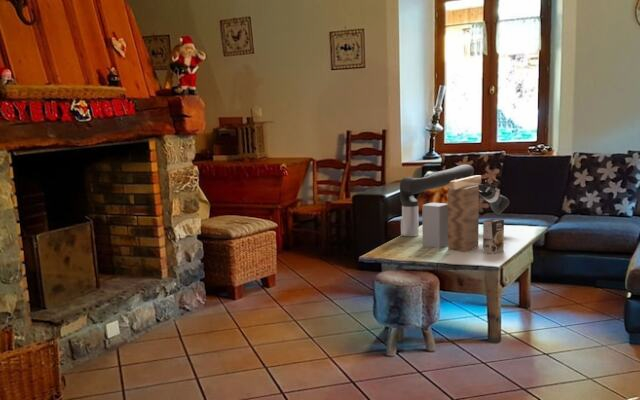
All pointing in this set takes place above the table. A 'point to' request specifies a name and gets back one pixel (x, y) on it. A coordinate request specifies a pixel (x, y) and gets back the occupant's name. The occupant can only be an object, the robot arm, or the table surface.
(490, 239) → the coffee box
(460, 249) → the tall pedestal
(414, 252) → the table surface
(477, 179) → the bar
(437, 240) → the base pedestal
